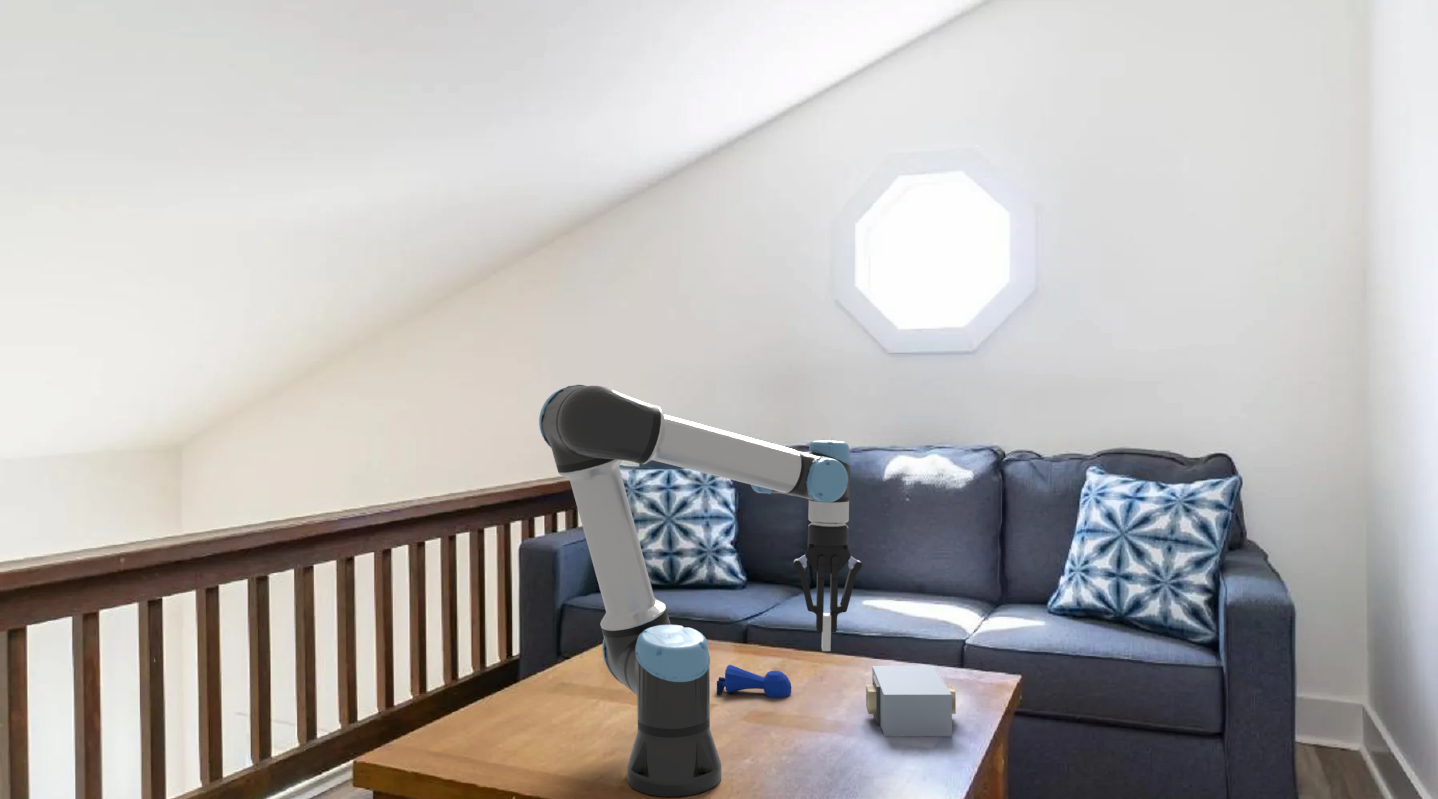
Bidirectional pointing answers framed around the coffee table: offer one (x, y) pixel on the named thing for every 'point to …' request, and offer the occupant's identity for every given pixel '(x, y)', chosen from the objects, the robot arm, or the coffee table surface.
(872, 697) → the peg
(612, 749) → the coffee table surface
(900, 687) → the sleeve block
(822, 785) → the coffee table surface
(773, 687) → the toy
